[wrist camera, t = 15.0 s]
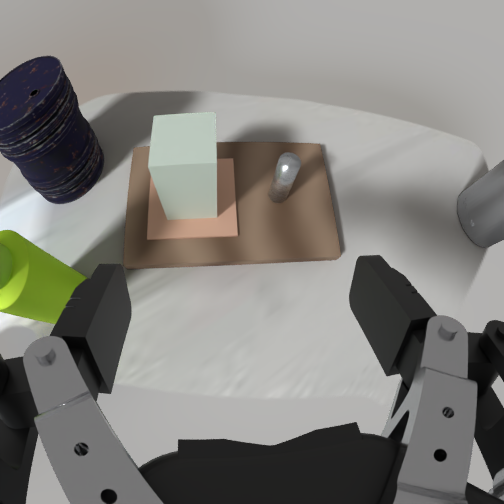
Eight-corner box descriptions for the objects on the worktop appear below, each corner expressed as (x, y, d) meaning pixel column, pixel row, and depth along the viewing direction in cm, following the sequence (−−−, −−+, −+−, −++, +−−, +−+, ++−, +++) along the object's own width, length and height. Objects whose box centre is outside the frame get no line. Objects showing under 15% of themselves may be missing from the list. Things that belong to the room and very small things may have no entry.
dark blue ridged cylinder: (25, 190, 32) (-37, 124, 18) (65, 131, 35) (23, 53, 21) (77, 216, 32) (11, 142, 17) (119, 148, 35) (83, 58, 21)
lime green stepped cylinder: (50, 265, 30) (-73, 183, 11) (101, 278, 30) (-20, 191, 11) (38, 316, 28) (-100, 271, 9) (89, 333, 28) (-53, 303, 9)
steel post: (285, 186, 33) (299, 152, 27) (288, 203, 33) (302, 171, 27) (267, 186, 33) (277, 152, 27) (269, 203, 33) (280, 171, 26)
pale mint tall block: (215, 174, 33) (215, 112, 23) (217, 217, 31) (216, 162, 22) (169, 177, 32) (153, 115, 23) (167, 220, 31) (147, 166, 21)
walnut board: (316, 150, 37) (319, 143, 36) (336, 259, 33) (341, 255, 32) (136, 154, 35) (133, 147, 33) (127, 269, 31) (123, 265, 29)
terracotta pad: (233, 159, 34) (233, 158, 34) (237, 236, 31) (237, 235, 31) (152, 163, 33) (152, 162, 32) (147, 240, 30) (147, 239, 30)
